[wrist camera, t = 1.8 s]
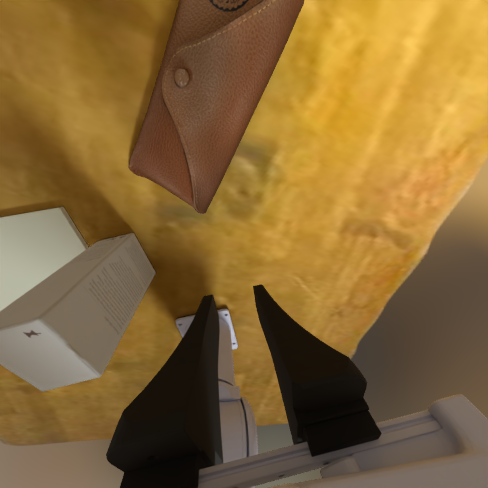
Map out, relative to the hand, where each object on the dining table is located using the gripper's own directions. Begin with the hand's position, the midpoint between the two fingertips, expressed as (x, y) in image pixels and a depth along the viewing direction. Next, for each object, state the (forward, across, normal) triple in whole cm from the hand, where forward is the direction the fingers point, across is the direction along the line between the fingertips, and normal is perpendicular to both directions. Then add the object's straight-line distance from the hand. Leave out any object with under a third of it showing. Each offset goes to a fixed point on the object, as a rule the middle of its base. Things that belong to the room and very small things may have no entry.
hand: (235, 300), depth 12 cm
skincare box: (+11, +12, 0) cm, 16 cm away
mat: (+10, +22, 0) cm, 25 cm away
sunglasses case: (+11, 0, -14) cm, 18 cm away
